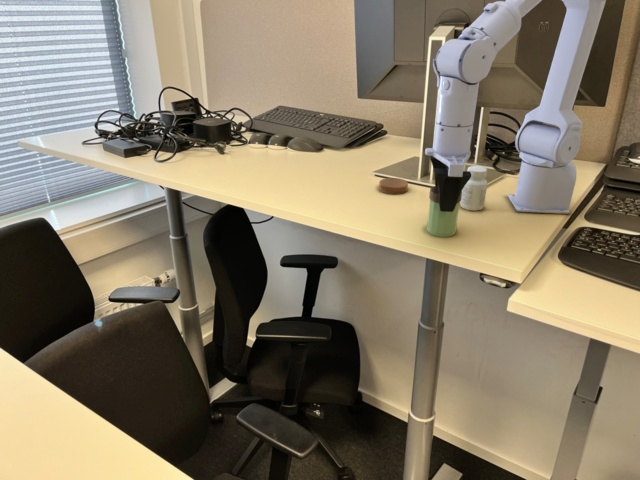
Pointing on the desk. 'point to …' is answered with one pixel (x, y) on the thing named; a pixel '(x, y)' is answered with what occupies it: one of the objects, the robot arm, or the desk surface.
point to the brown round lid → (435, 195)
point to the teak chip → (393, 186)
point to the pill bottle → (474, 189)
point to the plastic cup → (442, 220)
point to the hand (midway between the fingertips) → (444, 203)
